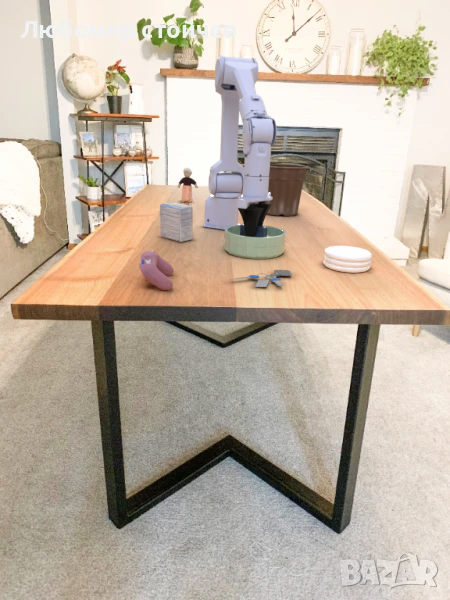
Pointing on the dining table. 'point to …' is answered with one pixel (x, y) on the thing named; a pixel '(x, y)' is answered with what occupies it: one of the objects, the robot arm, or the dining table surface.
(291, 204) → the plant pot
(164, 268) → the pink curved piece
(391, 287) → the dining table surface
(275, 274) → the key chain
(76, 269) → the dining table surface
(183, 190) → the grandmother figurine
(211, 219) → the robot arm
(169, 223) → the medicine box
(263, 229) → the brush
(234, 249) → the bowl
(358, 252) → the white round stacked piece
